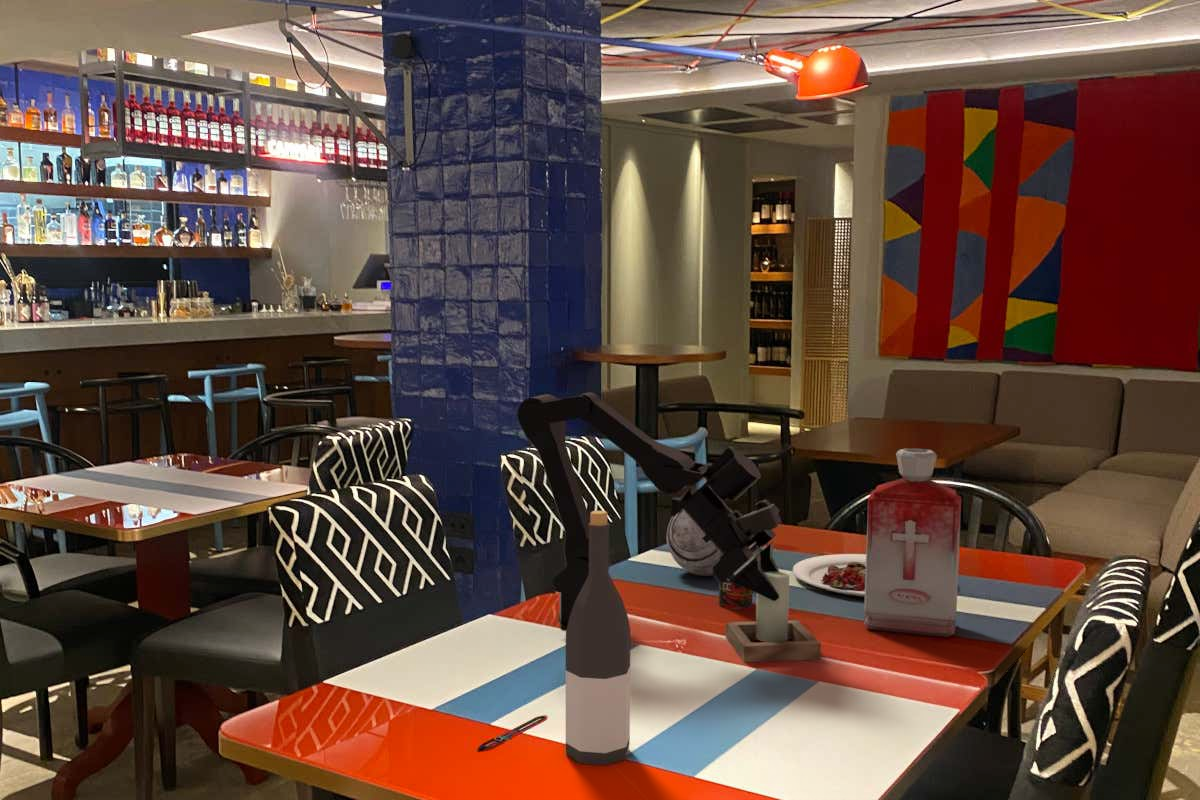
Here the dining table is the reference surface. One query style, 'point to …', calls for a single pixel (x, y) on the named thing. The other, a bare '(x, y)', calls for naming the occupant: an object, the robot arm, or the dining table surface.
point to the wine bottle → (598, 661)
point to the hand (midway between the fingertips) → (781, 594)
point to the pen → (511, 733)
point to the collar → (773, 643)
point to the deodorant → (734, 595)
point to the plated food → (834, 573)
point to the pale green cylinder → (773, 610)
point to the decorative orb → (691, 546)
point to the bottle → (912, 551)
